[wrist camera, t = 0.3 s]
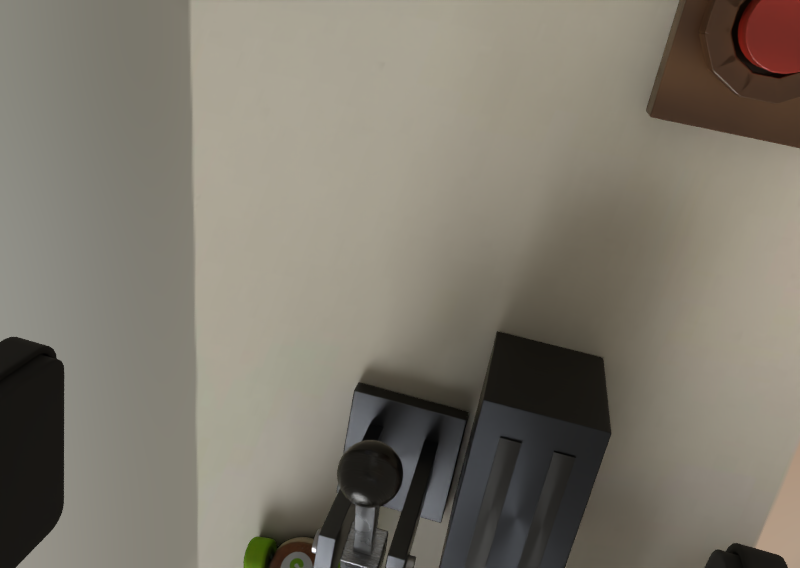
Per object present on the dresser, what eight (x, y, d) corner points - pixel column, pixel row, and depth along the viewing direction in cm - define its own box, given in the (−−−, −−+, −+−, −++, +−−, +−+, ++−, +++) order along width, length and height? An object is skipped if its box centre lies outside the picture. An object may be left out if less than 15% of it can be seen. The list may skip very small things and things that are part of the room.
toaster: (497, 330, 48) (482, 400, 39) (603, 357, 47) (611, 434, 39) (454, 498, 53) (433, 590, 45) (548, 525, 52) (545, 624, 44)
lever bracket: (358, 381, 51) (297, 494, 40) (468, 411, 50) (440, 535, 39) (340, 483, 55) (280, 613, 43) (443, 512, 54) (409, 654, 42)
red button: (754, -25, 34) (763, -26, 33) (842, -9, 34) (856, -10, 32) (725, 61, 36) (732, 64, 34) (809, 78, 36) (820, 81, 34)
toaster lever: (349, 420, 35) (327, 478, 33) (413, 437, 35) (395, 497, 33) (345, 531, 45) (328, 582, 43) (395, 546, 44) (381, 597, 42)
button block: (711, -106, 37) (728, -118, 33) (899, -75, 36) (937, -83, 32) (645, 111, 41) (653, 122, 37) (810, 145, 40) (835, 160, 36)
